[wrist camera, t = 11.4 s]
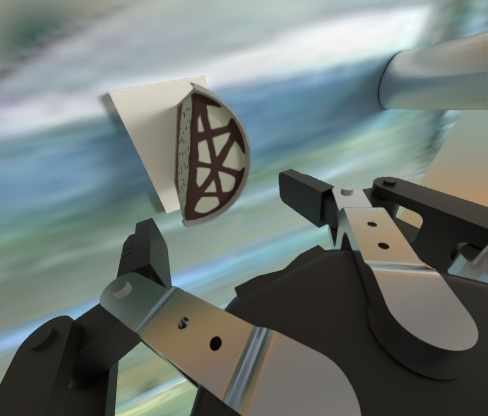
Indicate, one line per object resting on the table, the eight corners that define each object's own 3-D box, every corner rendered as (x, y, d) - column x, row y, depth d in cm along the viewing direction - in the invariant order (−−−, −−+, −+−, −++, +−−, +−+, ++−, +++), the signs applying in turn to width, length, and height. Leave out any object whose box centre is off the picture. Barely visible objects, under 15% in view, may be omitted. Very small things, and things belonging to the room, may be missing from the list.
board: (201, 77, 22) (204, 75, 21) (228, 188, 30) (230, 190, 29) (110, 92, 19) (108, 91, 18) (166, 209, 27) (167, 213, 26)
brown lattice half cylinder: (216, 193, 28) (243, 227, 20) (173, 192, 25) (185, 232, 17) (228, 103, 23) (270, 101, 15) (177, 89, 20) (195, 78, 12)
